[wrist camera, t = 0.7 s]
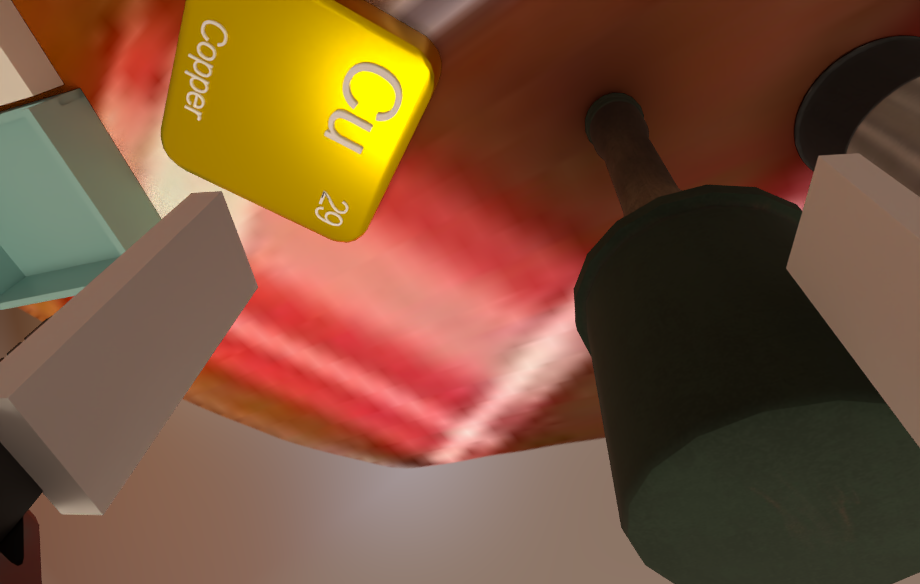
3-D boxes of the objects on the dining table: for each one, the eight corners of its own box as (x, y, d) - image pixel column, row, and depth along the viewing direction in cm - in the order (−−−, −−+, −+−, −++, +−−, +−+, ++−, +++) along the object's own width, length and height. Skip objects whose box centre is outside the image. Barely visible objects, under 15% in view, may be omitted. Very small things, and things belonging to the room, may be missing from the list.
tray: (-89, 137, 42) (-154, 161, 38) (79, 88, 39) (28, 108, 35) (29, 280, 49) (-15, 312, 45) (179, 248, 46) (146, 281, 42)
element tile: (232, -79, 33) (193, -78, 29) (453, 50, 36) (446, 67, 32) (184, 136, 41) (149, 159, 37) (368, 226, 44) (353, 257, 40)
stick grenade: (576, 195, 40) (669, 637, 16) (526, 88, 36) (547, 456, 12) (692, 144, 37) (1033, 586, 13) (653, 22, 33) (1039, 322, 9)
